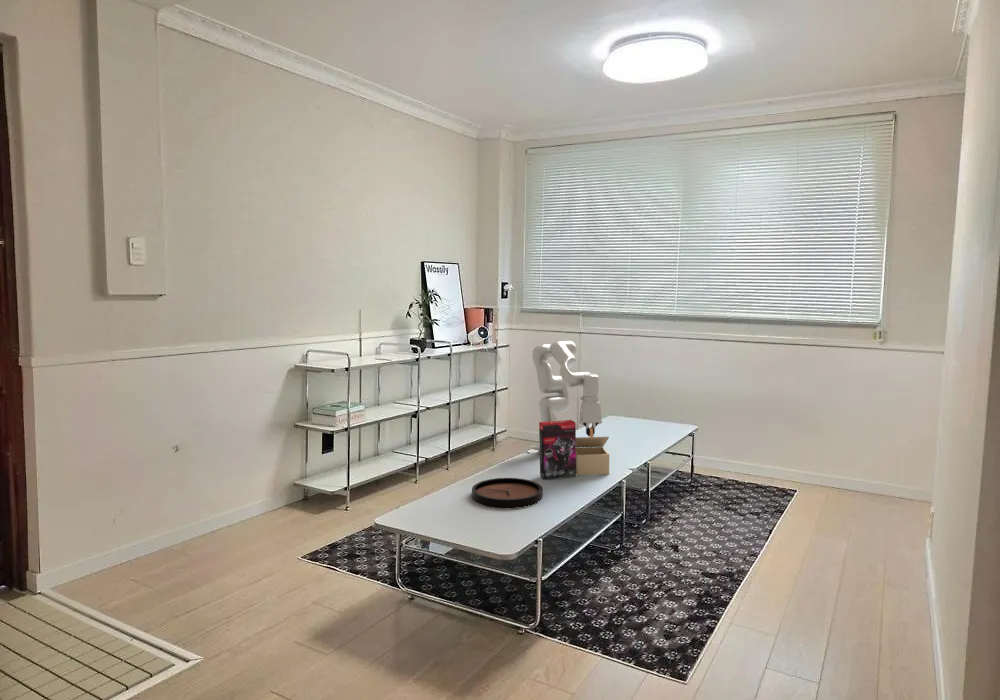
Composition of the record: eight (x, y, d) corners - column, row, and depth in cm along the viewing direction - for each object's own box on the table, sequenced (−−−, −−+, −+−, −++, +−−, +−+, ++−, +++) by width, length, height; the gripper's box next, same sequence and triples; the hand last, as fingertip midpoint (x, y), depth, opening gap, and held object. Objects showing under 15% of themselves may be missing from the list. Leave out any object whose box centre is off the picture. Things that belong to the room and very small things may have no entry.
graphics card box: (543, 480, 323) (543, 424, 320) (538, 476, 329) (538, 421, 326) (576, 477, 327) (577, 422, 324) (571, 473, 334) (571, 419, 331)
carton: (577, 475, 331) (577, 455, 330) (571, 467, 345) (571, 447, 344) (609, 474, 333) (609, 454, 331) (602, 466, 346) (602, 447, 345)
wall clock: (557, 488, 300) (507, 505, 278) (557, 496, 300) (507, 514, 278) (507, 473, 322) (457, 488, 300) (507, 481, 322) (457, 497, 301)
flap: (575, 438, 331) (574, 427, 334) (571, 447, 344) (570, 437, 346) (608, 437, 333) (607, 427, 335) (603, 446, 345) (601, 436, 348)
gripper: (576, 400, 330) (576, 437, 332) (607, 400, 332) (607, 436, 334) (573, 398, 338) (573, 434, 340) (604, 397, 339) (603, 433, 341)
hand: (590, 435), depth 337 cm, fingers closed
